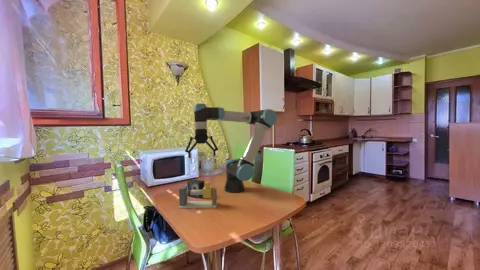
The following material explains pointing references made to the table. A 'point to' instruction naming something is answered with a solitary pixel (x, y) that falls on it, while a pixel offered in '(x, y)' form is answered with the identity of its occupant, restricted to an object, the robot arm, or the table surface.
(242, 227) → the table surface
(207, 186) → the sleeve
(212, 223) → the table surface
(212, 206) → the rail
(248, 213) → the table surface
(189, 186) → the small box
